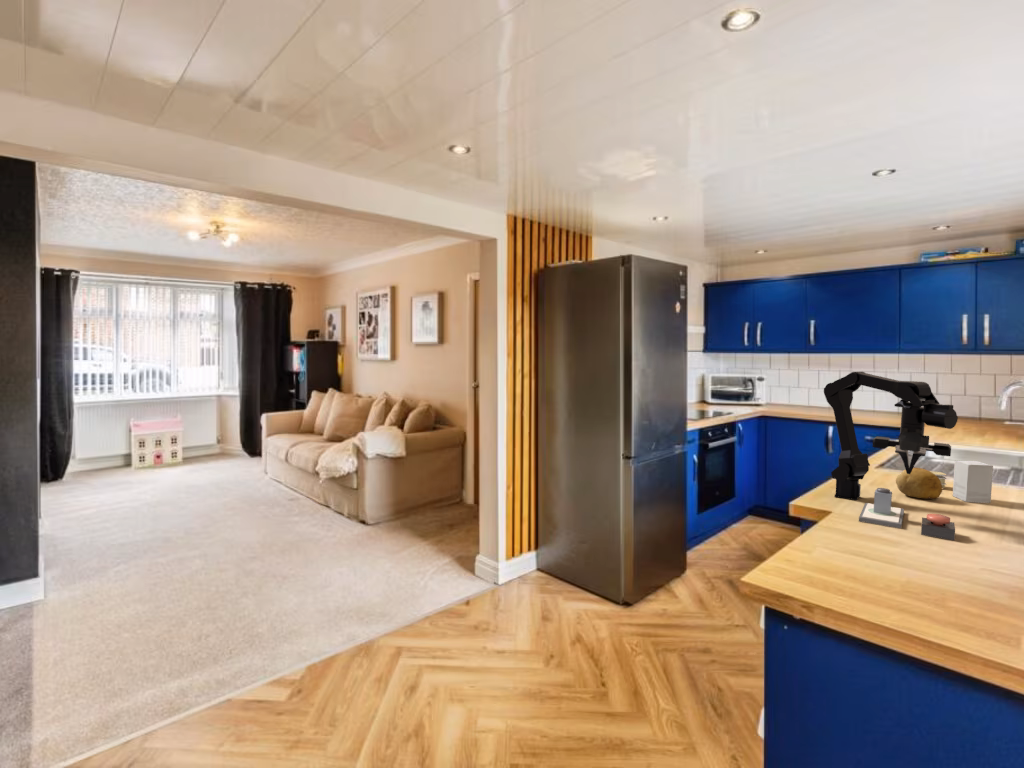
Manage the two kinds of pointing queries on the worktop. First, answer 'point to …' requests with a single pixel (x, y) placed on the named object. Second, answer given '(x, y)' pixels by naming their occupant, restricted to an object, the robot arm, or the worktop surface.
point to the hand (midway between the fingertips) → (908, 473)
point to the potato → (919, 484)
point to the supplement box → (972, 481)
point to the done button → (938, 519)
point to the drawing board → (882, 516)
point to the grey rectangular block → (882, 501)
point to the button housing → (938, 530)
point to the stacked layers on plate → (940, 477)
